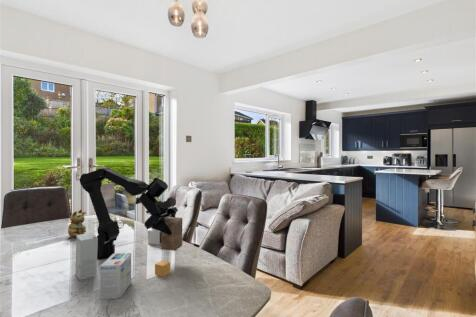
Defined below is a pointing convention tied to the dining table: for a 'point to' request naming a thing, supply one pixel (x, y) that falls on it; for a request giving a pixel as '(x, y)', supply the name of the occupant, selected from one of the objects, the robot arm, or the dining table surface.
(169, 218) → the brown rectangular block
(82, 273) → the skincare box
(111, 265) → the light bulb box
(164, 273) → the orange cube
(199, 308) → the dining table surface
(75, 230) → the decorative figurine
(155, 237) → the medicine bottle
